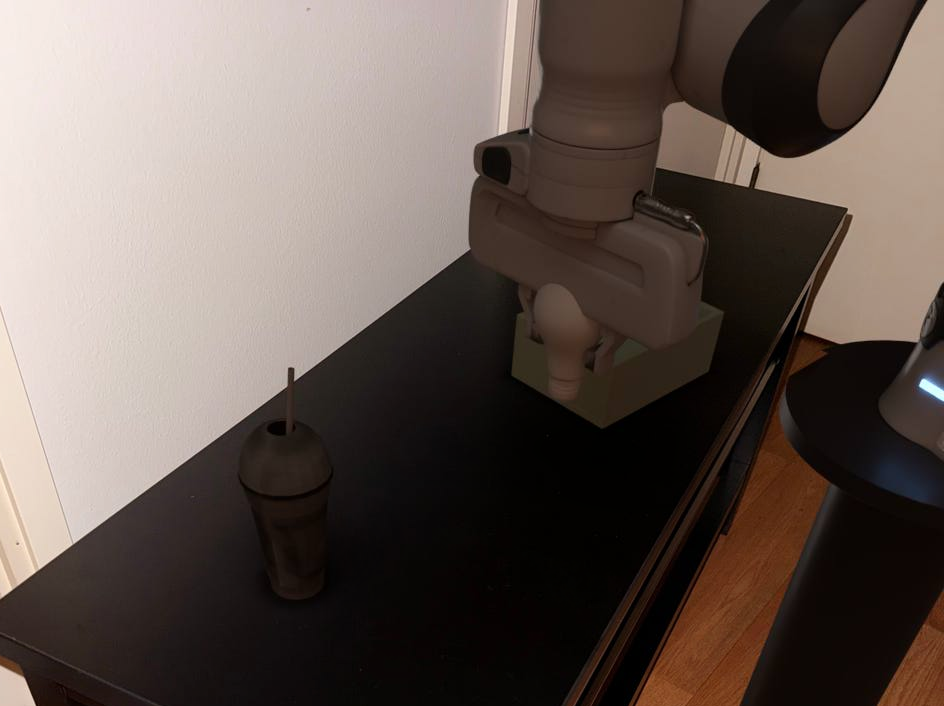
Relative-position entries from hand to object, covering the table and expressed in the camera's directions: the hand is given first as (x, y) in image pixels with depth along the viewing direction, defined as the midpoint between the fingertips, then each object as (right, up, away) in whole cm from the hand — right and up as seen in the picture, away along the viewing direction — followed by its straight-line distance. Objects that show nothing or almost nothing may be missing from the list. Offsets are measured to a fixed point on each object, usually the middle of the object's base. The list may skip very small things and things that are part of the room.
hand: (567, 354), depth 75 cm
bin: (+8, +8, +32) cm, 34 cm away
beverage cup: (-22, -18, +6) cm, 29 cm away
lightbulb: (0, -3, +3) cm, 4 cm away
